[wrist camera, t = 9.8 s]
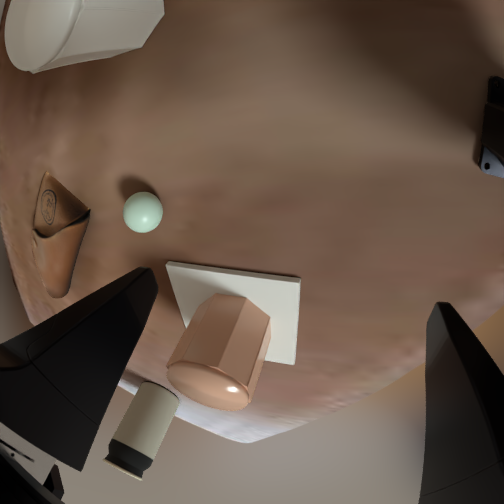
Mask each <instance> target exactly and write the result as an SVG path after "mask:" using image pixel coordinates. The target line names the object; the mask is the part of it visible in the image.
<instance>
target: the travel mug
mask: <svg viewBox="0 0 504 504" xmlns="http://www.w3.org/2000/svg"><path fill="white" fill-rule="evenodd" d="M179 404H180V402H179V400H178V398H177V397H176V396H175V395H174V394H173V393H172V392H170V391H168V390H167V389H165V388H164V387H161V386H159V385H157V384H154V383H150V382H143V383H142V384H141V386H140V388H139V389H138V391H137V393H136V395H135V397H134V399H133V400H132V402H131V404H130V406H129V408H128V410H127V412H126V413H125V415H124V417H123V419H122V421H121V423H120V424H119V426H118V428H117V431H116V432H115V434H114V436H113V438H112V439H111V442H110V444H109V454H108V455H107V457H106V458H105V459H103V461H104V462H106V463H108V464H109V465H111V466H113V467H115V468H117V469H119V470H121V471H122V472H125V473H127V474H128V475H130V476H132V477H134V478H136V479H138V480H140V481H142V475H143V471H144V470H146V469H148V468H149V467H150V466H151V464H152V462H153V459H154V457H155V455H156V453H157V451H158V449H159V446H160V444H161V442H162V440H163V438H164V436H165V434H166V431H167V429H168V427H169V425H170V422H171V421H172V419H173V416H174V414H175V412H176V410H177V408H178V406H179Z"/></svg>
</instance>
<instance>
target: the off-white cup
mask: <svg viewBox="0 0 504 504" xmlns="http://www.w3.org/2000/svg"><path fill="white" fill-rule="evenodd" d="M164 14H165V13H164V2H163V0H12V1H11V3H10V6H9V9H8V13H7V17H6V23H5V45H6V50H7V53H8V56H9V58H10V60H11V62H12V63H13V65H14V66H15V67H17V68H18V69H20V70H23V71H30V72H32V74H34V73H37V72H41V71H45V70H48V69H52V68H57V67H61V66H65V65H70V64H75V63H80V62H85V61H91V60H97V59H103V58H110V57H113V56H116V55H119V54H122V53H125V52H128V51H131V50H134V49H137V48H142V46H143V45H144V43H145V42H146V40H147V38H148V37H149V35H150V34H151V33H152V31H153V30H154V28H155V27H156V25H157V24H158V22H159V21H160V20H161V18H162V17H163V16H164Z"/></svg>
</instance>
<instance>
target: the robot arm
mask: <svg viewBox="0 0 504 504" xmlns="http://www.w3.org/2000/svg"><path fill="white" fill-rule="evenodd" d="M495 81H497V82H498V86H497V87H496V86H495V84H494V82H495ZM481 142H482V148H481V154H480V159H479V168H480V169H481V170H482V171H483V172H484V173H486V174H490V175H494V176H498V177H502V178H504V79H503V78H500V77H497V76H491V77H490V78H489V82H488V99H487V103H486V104H485V111H484V121H483V129H482V136H481ZM487 162H488V165H487V167H486V168H484V165H485V163H487ZM157 293H158V284H157V281H156V279H155V276H154V273H153V271H152V269H151V268H148V267H138V268H136V269H135V270H133V271H131V272H129V273H127V274H125V275H124V276H122V277H120V278H118V279H116V280H115V281H113V282H111V283H109V284H107V285H106V286H104V287H102V288H100V289H99V290H97V291H95V292H93V293H92V294H90V295H88V296H86V297H85V298H83V299H81V300H79V301H78V302H76V303H74V304H72V305H71V306H69V307H67V308H66V309H64V310H62V311H61V312H59V313H58V314H55V315H54V316H52V317H50V318H49V319H47V320H45V321H43V322H42V323H40V324H38V325H36V326H35V327H33V328H31V329H29V330H27V331H25V332H23V333H21V334H19V335H17V336H15V337H14V338H12V339H10V340H8V341H6V342H4V343H2V344H0V504H65V503H64V502H62V501H61V498H62V496H63V494H64V489H63V485H62V481H61V477H60V473H59V469H58V466H57V465H55V461H56V460H59V461H61V462H63V463H65V464H66V465H69V466H70V467H72V468H74V469H76V470H78V471H80V472H81V471H82V469H83V467H84V464H85V461H86V459H87V456H88V454H89V451H90V449H91V446H92V444H93V441H94V438H95V436H96V434H97V431H98V429H99V425H100V424H101V421H102V419H103V417H104V414H105V412H106V410H107V407H108V405H109V403H110V400H111V398H112V396H113V394H114V391H115V389H116V387H117V385H118V383H119V380H120V378H121V376H122V374H123V372H124V369H125V367H126V365H127V363H128V361H129V359H130V357H131V355H132V353H133V350H134V348H135V346H136V344H137V342H138V340H139V338H140V336H141V334H142V332H143V330H144V327H145V325H146V322H147V319H148V317H149V314H150V312H151V309H152V306H153V304H154V301H155V299H156V296H157ZM425 366H426V367H425V383H426V433H425V453H424V464H423V474H422V483H421V491H420V498H419V503H418V504H504V375H503V374H502V372H501V371H500V369H499V368H498V366H497V365H496V363H495V362H494V361H493V359H492V358H491V356H490V355H489V353H488V352H487V351H486V349H485V348H484V346H483V345H482V344H481V342H480V341H479V340H478V338H477V337H476V336H475V334H474V333H473V332H472V330H471V329H470V328H469V326H468V325H467V324H466V323H465V321H464V320H463V319H462V317H461V316H460V315H459V314H458V312H457V311H456V310H455V309H454V308H453V306H452V305H451V304H450V303H448V302H437V303H436V304H435V306H434V308H433V310H432V313H431V315H430V317H429V319H428V322H427V328H426V365H425Z"/></svg>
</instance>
